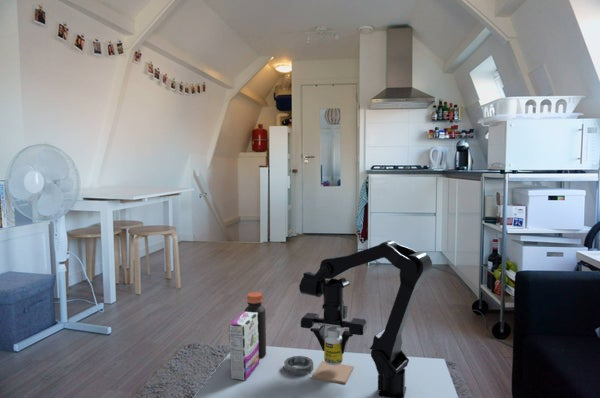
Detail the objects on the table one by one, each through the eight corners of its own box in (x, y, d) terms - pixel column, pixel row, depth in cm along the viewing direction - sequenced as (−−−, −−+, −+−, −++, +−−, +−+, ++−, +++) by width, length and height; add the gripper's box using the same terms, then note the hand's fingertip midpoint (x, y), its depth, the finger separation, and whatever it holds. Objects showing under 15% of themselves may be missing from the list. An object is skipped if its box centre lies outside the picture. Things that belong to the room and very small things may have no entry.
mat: (353, 368, 127) (353, 366, 126) (345, 384, 117) (345, 381, 117) (322, 362, 130) (322, 361, 130) (311, 377, 121) (311, 375, 121)
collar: (316, 364, 129) (316, 358, 129) (307, 377, 121) (307, 370, 121) (290, 360, 132) (290, 354, 132) (280, 372, 124) (280, 366, 124)
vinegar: (269, 352, 138) (268, 292, 136) (260, 361, 132) (259, 298, 130) (251, 349, 140) (250, 290, 139) (241, 357, 134) (240, 296, 133)
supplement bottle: (323, 365, 121) (322, 332, 121) (325, 357, 127) (325, 325, 126) (341, 366, 120) (341, 333, 119) (343, 358, 125) (343, 326, 125)
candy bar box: (244, 362, 131) (243, 310, 130) (259, 364, 130) (258, 312, 129) (229, 379, 120) (228, 323, 119) (245, 381, 119) (244, 325, 118)
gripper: (370, 295, 126) (370, 345, 127) (312, 289, 133) (312, 337, 134) (362, 306, 116) (362, 361, 117) (299, 299, 122) (300, 351, 124)
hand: (333, 351), depth 123 cm, fingers closed on supplement bottle, 5 cm apart
